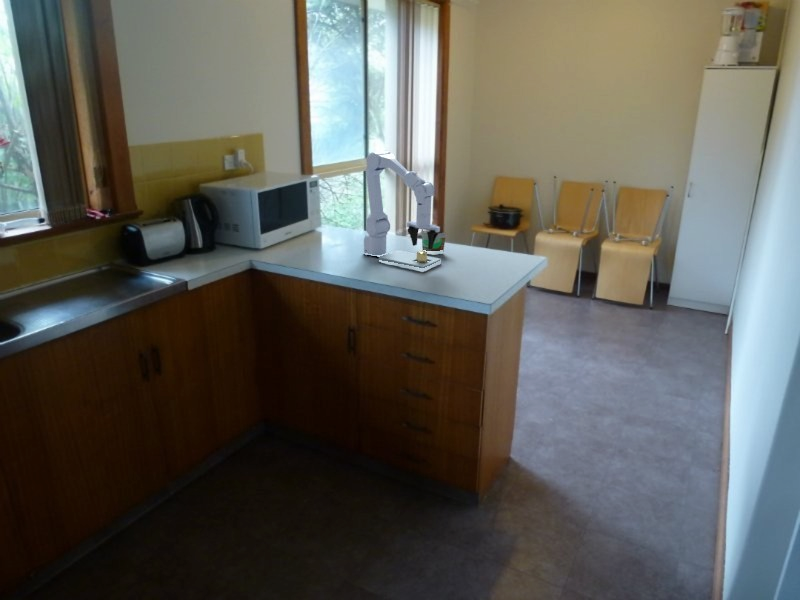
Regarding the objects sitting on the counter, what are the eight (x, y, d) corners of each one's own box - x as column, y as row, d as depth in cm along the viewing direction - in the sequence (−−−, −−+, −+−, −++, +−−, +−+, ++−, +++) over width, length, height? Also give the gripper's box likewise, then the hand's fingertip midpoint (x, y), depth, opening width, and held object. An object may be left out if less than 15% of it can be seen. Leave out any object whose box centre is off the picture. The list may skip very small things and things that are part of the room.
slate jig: (378, 262, 246) (378, 257, 245) (397, 255, 257) (397, 249, 256) (423, 272, 235) (423, 266, 234) (441, 264, 245) (441, 258, 245)
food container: (414, 253, 260) (415, 231, 257) (420, 250, 266) (421, 228, 262) (440, 257, 255) (441, 235, 252) (446, 254, 260) (447, 232, 257)
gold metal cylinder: (414, 266, 242) (414, 252, 240) (420, 264, 245) (421, 250, 243) (422, 268, 240) (422, 254, 238) (428, 266, 243) (429, 252, 240)
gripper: (403, 212, 236) (402, 245, 240) (434, 218, 228) (432, 251, 233) (412, 210, 241) (411, 242, 246) (443, 214, 234) (441, 248, 238)
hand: (422, 246), depth 240 cm, fingers open, 7 cm apart
